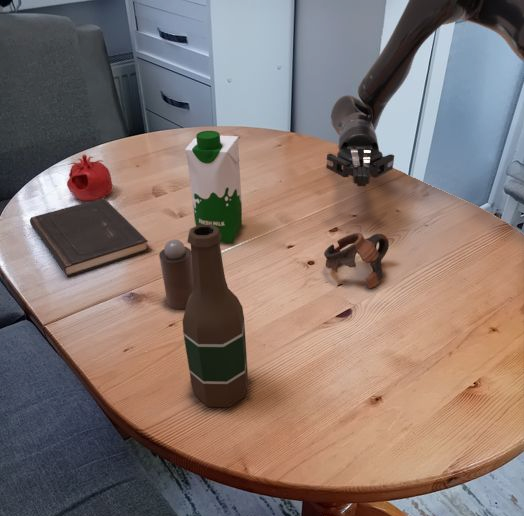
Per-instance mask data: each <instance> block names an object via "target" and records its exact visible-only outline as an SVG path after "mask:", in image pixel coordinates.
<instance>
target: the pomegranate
mask: <svg viewBox="0 0 524 516" xmlns="http://www.w3.org/2000/svg"><path fill="white" fill-rule="evenodd" d="M91 159H94V156H88V157H87V154H82V156H81V158H78V159H77V160H78V161H80V162H71V163H68V164H67V165H71V168H70V170H69V171H70V172H69V174H68V177H69V178H68V180H67V181H66V186H67V188H68V190H69V192H70V193H71V194H72V196H73V197H75V198H76V199H78V200H81V201H84V202H89V201H93V200H97V199H100V198H105V197H108V196H109V195H110V194H111V193H112V191H113V180H112V176H111V172H110V169H109V168H108V167H107V166H106V165H105V164H104V163H101V162H102V160H100V159H99V160H95V161H91Z"/></svg>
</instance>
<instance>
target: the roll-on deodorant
mask: <svg viewBox="0 0 524 516" xmlns="http://www.w3.org/2000/svg"><path fill="white" fill-rule="evenodd" d="M158 256H159V257H158V258H159V262H160V268H161V269H160V270H161V274H162V279H163V285H164V292H165V297H166V303H167V306H169V307H170V308H171V309H173V310H179V311H182V310H185V309H186V305H187V302H188V298H189V296H190V294H191V293H192V291H193V273H192V257H191V248H189V247H187V246H185V245H184V243H183V242H182V241H180V240H179V239H170V240H169V241H167V242H166V244H165V245H164V248H163V249H162V250H161V251H160V252H159V254H158Z"/></svg>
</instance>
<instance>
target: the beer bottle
mask: <svg viewBox="0 0 524 516" xmlns="http://www.w3.org/2000/svg"><path fill="white" fill-rule="evenodd" d="M220 240H221V233H220V231H219V229H218V228H217V227H215V226H213V225H198V226H196V225H195V226H193V227H191V228H190V229H189V232H188V235H187V243H188V244H189V245H190V250H191V257H192V273H193V291H192V293H191V294H190V296H189V298H188V302H187V305H186V309H184V313H183V317H182V334H183V340H184V346H185V352H186V358H187V365H188V371H189V377H190V383H191V388H192V393H193V395H194V396H195V397H196V398H197V399H198V400H200V401H201V403H203V404H204V405H206V407H208V408H229V407H231V406H232V405H234V404H236V403H237V402H239V401H240V400H242V399H243V398H245V397H246V395H247V387H248V356H247V342H246V340H247V339H246V325H245V316H244V315H245V314H244V309H243V308H244V307H243V306H242V303H241V302H240V300H239V298H238V296H236V294H235V293H234V292H232V290H231V289H230V288H229V287H228V283H227V280H226V279H227V278H226V275H225V269H224V263H223V257H222V250H221V243H219V242H220Z"/></svg>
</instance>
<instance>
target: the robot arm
mask: <svg viewBox="0 0 524 516" xmlns="http://www.w3.org/2000/svg"><path fill="white" fill-rule="evenodd" d="M457 22H469V23H471V24H476V25H479V26H480V27H484V28H486V29H488V30H490V31H492V32H495V33H496V34H497V35H498V36H500V37H501V38H502V39H503V40H504V41H505V43H506V44H507V46H508V47H509V48H510V49H511V51H512V52H513V53H514V54H515V56H516V57H517V58H518V59H519V60H520V61H522V62H523V63H524V0H408V1H407V4H406V6H405V8H404V10H403V12H402V14H401V16H400V18H399V20H398V22H397V24H396V25H395V28H394V30H393V31H392V34H390V37H389V39H388V41H387V42H386V44H385V46H384V48H383V49H382V51H381V52H380V54H379V56H378V57H377V58H376V60H375V61H374V62H373V64H372V65H371V67H370V68H369V70H368V71H367V72H366V74H365V75H364V77H363V78H362V79H361V81H360V83H359V84H358V88H357V95H358V97H359V98H358V97H356V96H354V95H351V94H345V95H342V96H340V97H339V98H338V99H337V100H336V101H335V103H334V104H333V106H332V108H331V113H330V122H331V126H332V128H333V129H334V130H335V132H336V133H337V135H338V136H339V137H338V147H337V148H338V152H337V153H336V155H335V154H334V153H327V154H326V164H325V165H326V166H325V167H326V169H327V170H329V171H331V172H333V173H335V174H337V175H339V176H340V177H343V178H349V177H350V176H351V177H352V183H353V184H354V185H356V187H363V188H364V187H366V185H369V184H370V181H371V178H373V179H377V178H379V177H381V176H382V175H384V174H387V173H388V172H390V171H392V170H393V168H394V162H395V155H394V154H391V153H389V154H386V155H383V152H382V151H380V148H379V143H378V137H377V133H376V130H377V127H378V125H379V123H380V119H381V116H382V114H383V112H384V111H385V108H386V106H387V105H388V103H389V102H390V100H391V99H392V98H393V97H394V96H395V94H396V93H397V92H398V90H399V89H400V88H401V87H402V86H403V84H404V82H405V81H406V79H407V77H408V76H409V74H410V72H411V69H412V65H413V62H414V59H415V57H416V55H417V53H418V51H419V50H420V48H421V47H422V45H423V44H424V43H425V42H426V41H427V40H428V39H429V38H430V37H431V35H433V34H434V33H435V32H436V31H437V30H438V29H439V28H441V26H443V25H445V26H446V25H449V24H452V23H457Z"/></svg>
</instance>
